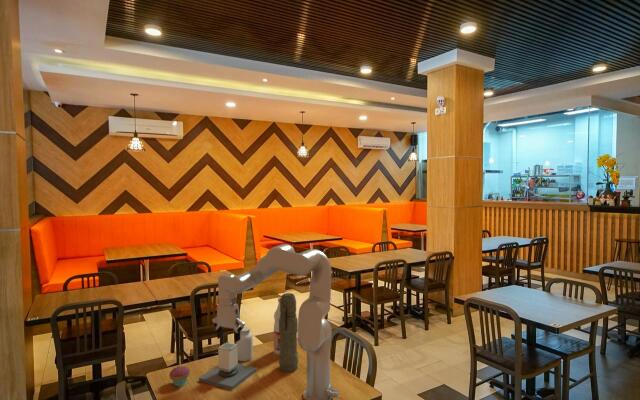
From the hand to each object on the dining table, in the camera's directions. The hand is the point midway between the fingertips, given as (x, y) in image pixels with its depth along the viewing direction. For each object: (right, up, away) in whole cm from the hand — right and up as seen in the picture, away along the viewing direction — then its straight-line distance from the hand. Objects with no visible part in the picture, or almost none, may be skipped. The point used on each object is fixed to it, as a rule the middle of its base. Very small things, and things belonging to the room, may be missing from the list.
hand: (228, 339), depth 175 cm
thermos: (+26, -17, +9) cm, 32 cm away
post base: (0, -17, +1) cm, 17 cm away
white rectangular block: (0, -13, +1) cm, 13 cm away
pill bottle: (+3, -16, +19) cm, 25 cm away
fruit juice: (+22, -16, +26) cm, 38 cm away
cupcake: (-20, -18, -6) cm, 27 cm away
